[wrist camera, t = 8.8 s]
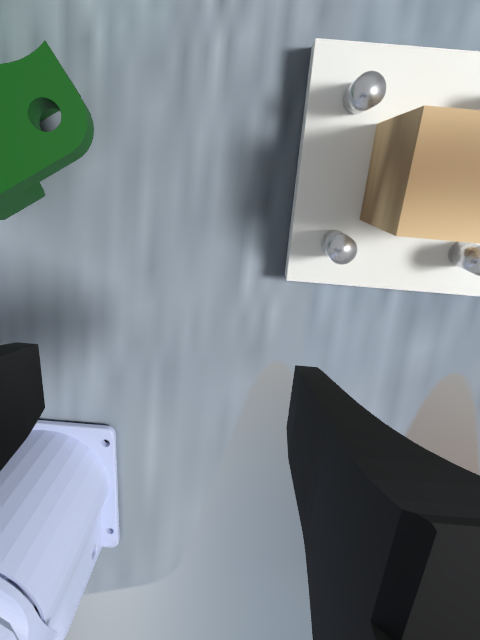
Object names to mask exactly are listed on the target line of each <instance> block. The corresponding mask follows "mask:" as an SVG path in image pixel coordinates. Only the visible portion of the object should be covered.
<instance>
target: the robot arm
mask: <svg viewBox="0 0 480 640" xmlns="http://www.w3.org/2000/svg"><path fill="white" fill-rule="evenodd" d="M44 408H45V403H44V394H43V385H42V376H41V366H40V357H39V348H38V344H28V343H10V344H5V345H1V346H0V640H64V638H65V637H66V634H67V632H68V630H69V628H70V625H71V622H72V620H73V618H74V615H75V613H76V610H77V608H78V605H79V603H80V600H81V598H82V595H83V593H84V590H85V588H86V585H87V583H88V580H89V578H90V575H91V573H92V570H93V568H94V565H95V563H96V560H97V558H98V555H99V553H100V550H101V548H102V547H115V546H117V545H118V542H119V539H120V538H119V512H118V486H117V459H116V433H115V430H114V429H113V428H112V427H110V426H105V425H93V424H81V423H69V422H57V421H45V420H38V419H39V417H40V416H41V414H42V412H43V410H44ZM104 440H108V441H109V443H107V442H105V441H104ZM287 443H288V458H289V464H290V469H291V474H292V480H293V485H294V490H295V495H296V500H297V505H298V510H299V516H300V521H301V526H302V531H303V538H304V544H305V552H306V563H307V573H308V584H309V596H310V609H311V621H312V634H313V640H480V476H479V475H477V474H475V473H472V472H470V471H468V470H466V469H464V468H462V467H460V466H457V465H455V464H453V463H451V462H449V461H447V460H445V459H444V458H442V457H440V456H438V455H436V454H434V453H432V452H430V451H428V450H426V449H424V448H423V447H421V446H419V445H417V444H416V443H414V442H412V441H411V440H409V439H408V438H406V437H405V436H403V435H401V434H400V433H398V432H397V431H395V430H394V429H392V428H390V427H389V426H388V425H386V424H385V423H383V422H382V421H381V420H379V419H378V418H377V417H375V416H374V415H373V414H371V413H370V412H369V411H367V410H366V409H365V408H364V407H362V406H361V405H360V404H359V403H357V402H356V401H355V400H354V399H353V398H352V397H350V396H349V395H348V394H347V393H346V392H345V391H344V390H342V389H341V388H340V387H339V386H338V385H337V384H336V383H335V382H334V381H333V380H331V379H330V378H329V377H328V376H327V375H326V374H325V373H324V372H323V371H321V370H320V369H319V368H317V367H307V366H295V372H294V379H293V386H292V393H291V400H290V407H289V416H288V422H287ZM110 528H111V529H110Z"/></svg>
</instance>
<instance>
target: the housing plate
mask: <svg viewBox="0 0 480 640" xmlns="http://www.w3.org/2000/svg"><path fill="white" fill-rule="evenodd" d="M424 105H426V106H438V107H449V108H460V109H472V110H480V52H478V51H466V50H454V49H442V48H430V47H417V46H405V45H393V44H381V43H369V42H356V41H344V40H332V39H320V38H316V39H315V41H314V43H313V45H312V48H311V56H310V65H309V73H308V82H307V90H306V99H305V107H304V115H303V124H302V132H301V141H300V149H299V158H298V166H297V174H296V183H295V191H294V200H293V208H292V217H291V225H290V233H289V242H288V250H287V259H286V267H285V277H286V280H288V281H300V282H312V283H324V284H336V285H349V286H361V287H373V288H385V289H397V290H409V291H422V292H434V293H446V294H458V295H470V296H480V244H479V243H468V242H457V241H445V240H434V239H422V238H411V237H400V236H395V235H392V234H390V233H388V232H386V231H383V230H381V229H379V228H377V227H375V226H372V225H370V224H368V223H366V222H363V221H361V220H360V214H361V209H362V203H363V198H364V192H365V187H366V181H367V176H368V170H369V165H370V159H371V154H372V148H373V143H374V137H375V132H376V127H377V123H380V122H383V121H385V120H388V119H390V118H393V117H395V116H398V115H401V114H403V113H406V112H408V111H411V110H414V109H416V108H419V107H421V106H424Z"/></svg>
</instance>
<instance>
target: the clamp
mask: <svg viewBox="0 0 480 640" xmlns="http://www.w3.org/2000/svg"><path fill="white" fill-rule="evenodd" d="M59 110H60V111H61V123H60V125H59V126H58V127H57V128H56V129H55V130H53V131H50V132H44V131H42V130H41V128H40V124H39V122H40V121H42V120H44V119H45V118H47V117H49V116H50V115H52V114H54V113H56V112H57V111H59ZM93 133H94V127H93V121H92V117H91V114H90V112H89V110H88V108H87V107H86V105H85V103H84V102H83V100H82V99H81V96H80V94H79V93H78V91H77V90H76V88H75V86H74V85H73V83H72V82H71V80H70V78H69V77H68V75H67V74H66V72H65V71H64V69H63V68H62V66H61V64H60V63H59V61H58V60H57V58H56V57H55V55H54V53H53V52H52V50H51V49H50V47H49V46H48V44H47V43H46V41H44V42H43V43H42V44H41V46H40V47H38V48H37V49H36V50H35V51H34V52H32V53H31V54H30V55H28V56H26V57H24V58H22V59H20V60H17V61H14V62H10V63H4V64H0V220H5V219H7V218H8V217H10V216H12V215H14V214H15V213H17V212H19V211H20V210H22V209H24V208H25V207H27V206H29V205H31V204H32V203H34V202H36V201H37V200H39V199H41V198H42V197H44V196H45V193H44V190H43V188H42V186H41V184H40V181H42V180H43V179H45V178H47V177H48V176H50V175H52V174H54V173H55V172H57V171H59V170H60V169H62V168H64V167H66V166H67V165H69V164H71V163H72V162H74V161H76V160H77V159H79V158H81V157H82V156H83V155H84V154H85V153H86V152H87V150H88V149H89V147H90V145H91V143H92V139H93Z"/></svg>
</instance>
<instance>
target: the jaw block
mask: <svg viewBox="0 0 480 640" xmlns="http://www.w3.org/2000/svg"><path fill="white" fill-rule="evenodd" d="M360 220H361V221H363V222H366V223H368V224H370V225H372V226H375V227H377V228H379V229H381V230H383V231H386V232H388V233H390V234H392V235H395V236H400V237H411V238H422V239H434V240H445V241H457V242H468V243H479V244H480V110H472V109H460V108H449V107H438V106H426V105H424V106H421V107H419V108H416V109H414V110H411V111H408V112H406V113H403V114H401V115H398V116H395V117H393V118H390V119H388V120H385V121H383V122H380V123H377V127H376V132H375V137H374V143H373V148H372V154H371V159H370V165H369V170H368V176H367V181H366V187H365V192H364V198H363V203H362V209H361V214H360Z"/></svg>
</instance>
